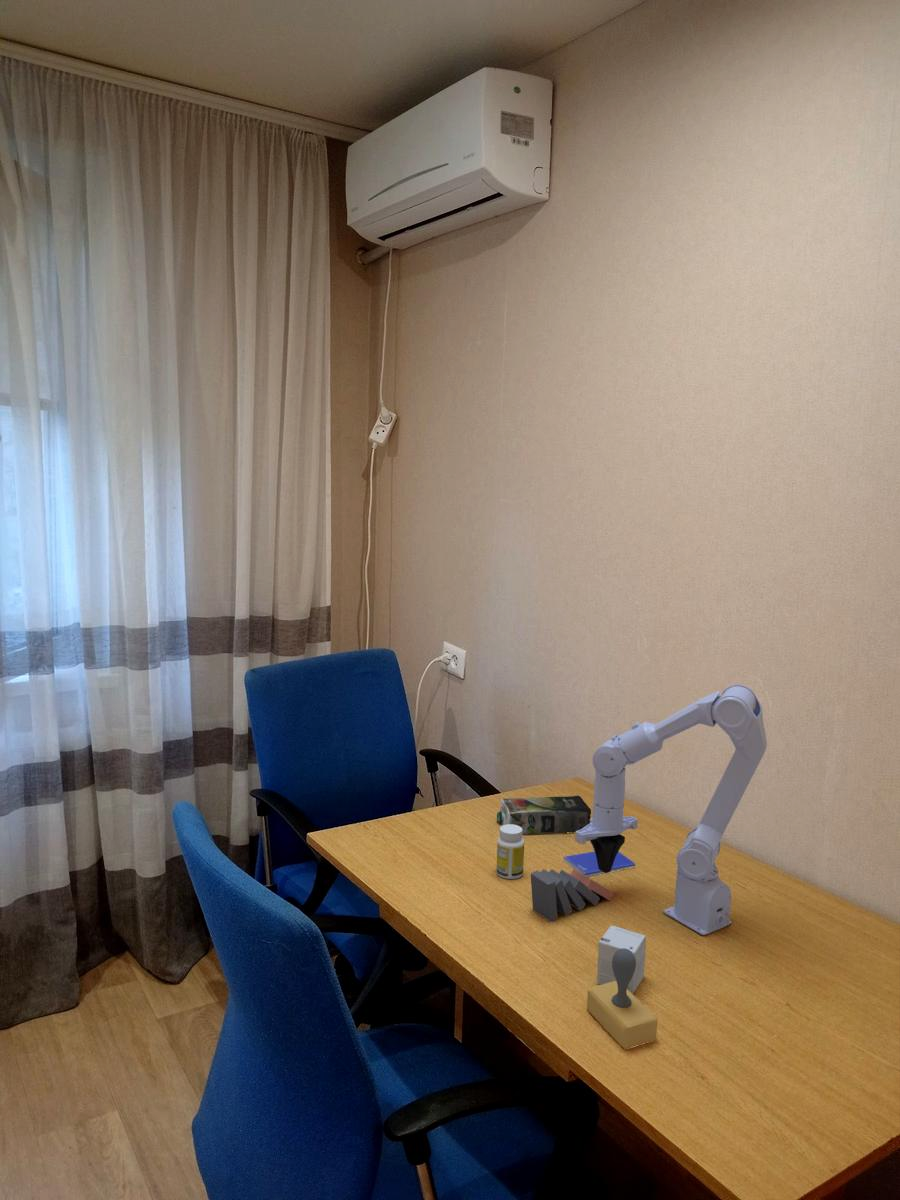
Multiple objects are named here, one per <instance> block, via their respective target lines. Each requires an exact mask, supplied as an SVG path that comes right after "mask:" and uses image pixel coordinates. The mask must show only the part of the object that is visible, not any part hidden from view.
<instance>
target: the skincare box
mask: <svg viewBox="0 0 900 1200" xmlns="http://www.w3.org/2000/svg"><path fill="white" fill-rule="evenodd" d="M646 943H647V936H646V935H645V934H641V933H638V932H635V931H631V930H628V929H625V928H622V927H618V926H615V925H610V926H609V928H608V929H607V931H606V932H605V933H604V934H603V936H601V938H600V939H599V940H598V953H597V955H598V956H597V977H596V979H597V982H596V983H597V984H598V985H602V984H606V983H609V982H613V981H616V978H615V975H614V972H613V969H612V959H613V956H614V954H615V952H616V951H617V950H619V949H621V948H625V949H628V950H630V951H631V952H632V953H633V955H634V956H635V959H636V968H635V971H634V974H633V977H632V979H631V981H630V982H629V984H628V987H627V990H629V991H630V992H631V993H632V994H633V995H634V993H635V992H636V990H637V988H638V987H639V985H640V984H641V982H642V980H643V979H644V978H645V965H646V964H645V963H646V949H647V948H646V946H647V944H646Z"/></svg>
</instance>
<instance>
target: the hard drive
mask: <svg viewBox="0 0 900 1200" xmlns="http://www.w3.org/2000/svg"><path fill="white" fill-rule="evenodd" d="M562 859H563V862H564V861H565V863H566V864H567V865H568V866H569V867H571V868H572V870H573V869H575V870H576V871H578V872H580V873H581V874H583V875H585V876H586V877H588V878H592V877H596V876H601V875H600V874H602V875H605V874H604V872H603V871H601V870H599V868H598V863H597V858H596V854H595V851H589V852H584V853H578V854H571V855H567V856H563V858H562ZM633 866H635V867H636V863H635V861H632V860H631V859H630V858H629V857H627V856H625V855H624V854H623V853H621V852H620V850H619V851H618V853H617V855H616V857H615V860H614V863H613V866H612V869H611V872H612V871H617V870H621V869H625V868H629V867H633ZM621 871H622V870H621ZM617 872H618V871H617ZM612 873H613V872H612ZM607 874H610V873H609V872H608V873H607ZM595 875H596V876H595Z"/></svg>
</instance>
